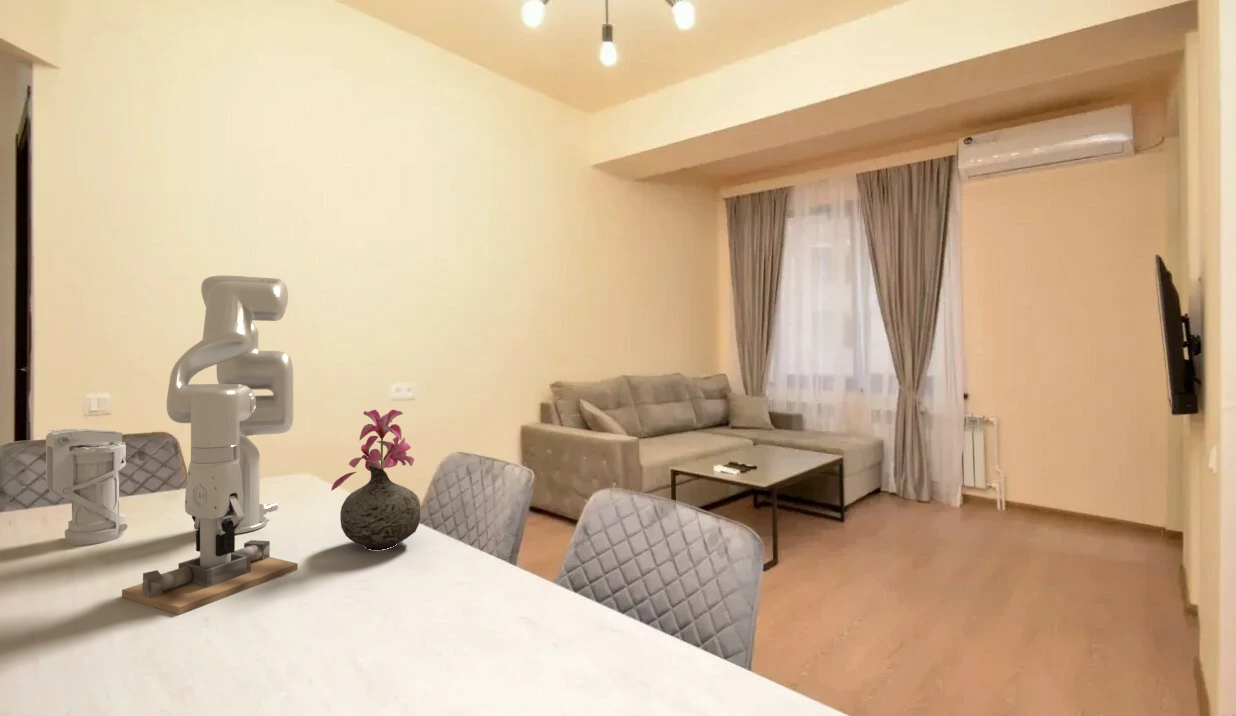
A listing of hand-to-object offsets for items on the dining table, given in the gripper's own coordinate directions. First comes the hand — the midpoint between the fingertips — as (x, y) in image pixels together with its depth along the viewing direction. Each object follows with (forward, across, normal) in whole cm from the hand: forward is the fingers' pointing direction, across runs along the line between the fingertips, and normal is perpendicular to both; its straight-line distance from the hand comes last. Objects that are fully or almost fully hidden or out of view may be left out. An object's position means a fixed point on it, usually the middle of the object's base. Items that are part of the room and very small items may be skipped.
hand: (215, 550), depth 112 cm
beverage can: (+3, 0, 0) cm, 3 cm away
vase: (+6, +12, +28) cm, 31 cm away
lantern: (+6, -48, +3) cm, 48 cm away
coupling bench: (+6, 0, 0) cm, 6 cm away
